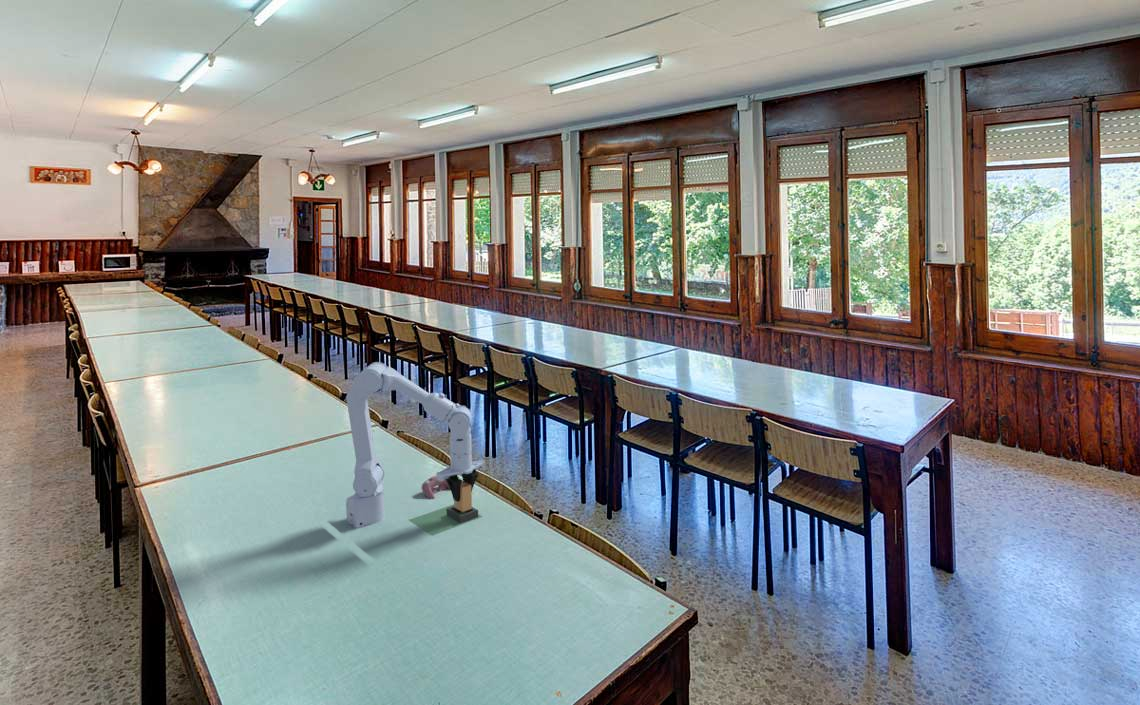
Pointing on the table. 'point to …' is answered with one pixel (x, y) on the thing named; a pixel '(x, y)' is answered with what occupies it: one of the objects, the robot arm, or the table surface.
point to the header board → (444, 519)
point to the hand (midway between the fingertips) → (462, 498)
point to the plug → (464, 498)
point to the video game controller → (431, 483)
